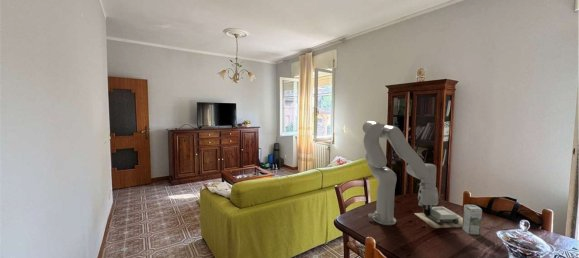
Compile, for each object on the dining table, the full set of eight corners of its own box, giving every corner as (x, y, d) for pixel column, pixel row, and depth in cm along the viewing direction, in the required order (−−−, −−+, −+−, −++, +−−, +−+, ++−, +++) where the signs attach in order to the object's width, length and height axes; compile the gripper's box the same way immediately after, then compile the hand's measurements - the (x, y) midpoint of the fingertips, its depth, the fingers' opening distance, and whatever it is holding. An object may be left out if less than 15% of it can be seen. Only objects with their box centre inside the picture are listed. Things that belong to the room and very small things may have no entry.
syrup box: (472, 229, 131) (474, 204, 130) (480, 235, 125) (482, 208, 124) (461, 229, 132) (463, 203, 131) (468, 234, 126) (470, 208, 125)
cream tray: (433, 228, 133) (433, 227, 133) (414, 213, 151) (414, 213, 151) (476, 226, 135) (476, 225, 135) (452, 212, 153) (452, 211, 153)
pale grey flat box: (438, 224, 136) (439, 213, 135) (423, 214, 149) (423, 204, 149) (459, 223, 137) (460, 213, 136) (442, 213, 150) (443, 203, 150)
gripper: (420, 187, 136) (419, 218, 138) (444, 186, 137) (443, 217, 139) (412, 183, 143) (411, 212, 145) (435, 182, 145) (434, 211, 146)
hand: (427, 214), depth 142 cm, fingers closed
